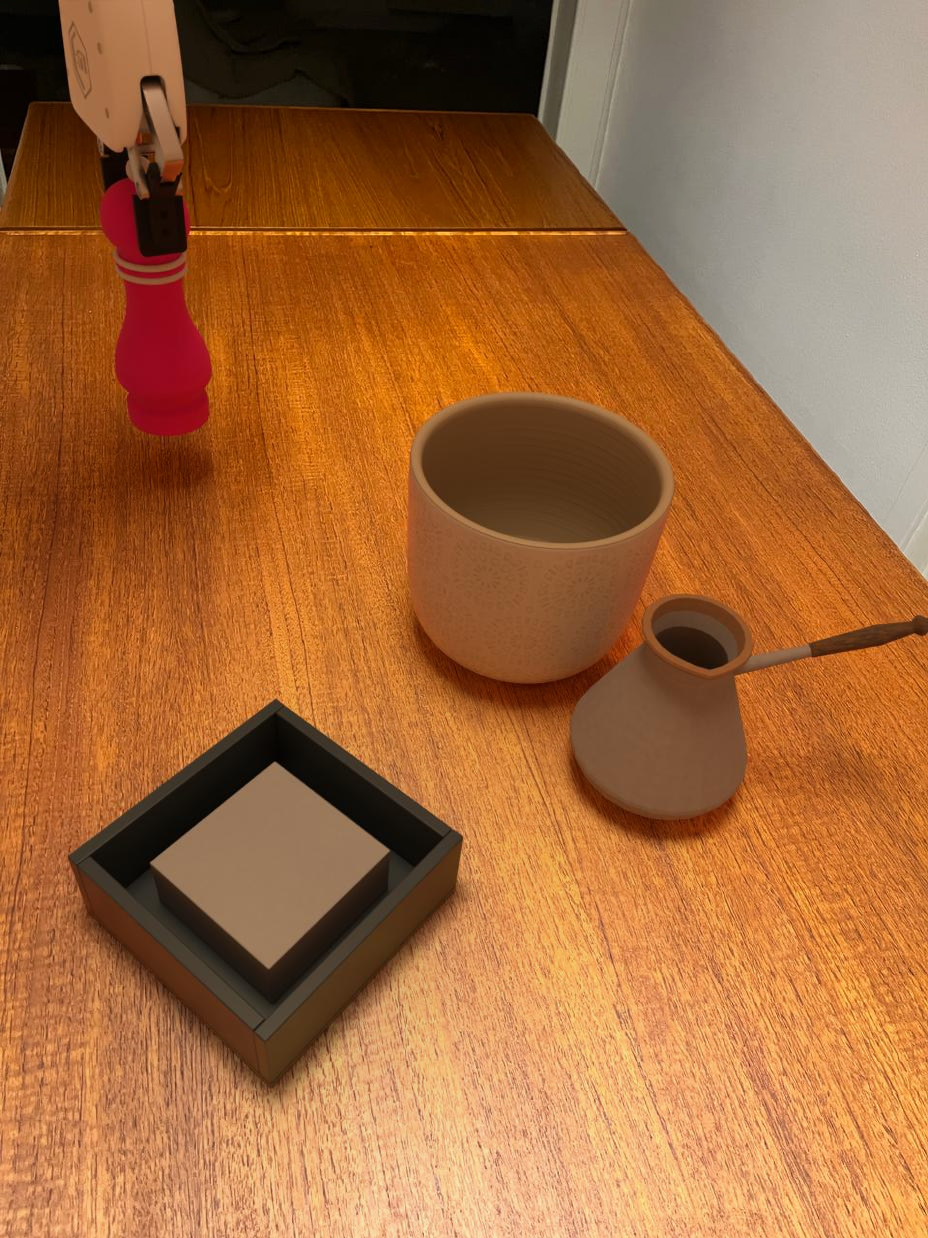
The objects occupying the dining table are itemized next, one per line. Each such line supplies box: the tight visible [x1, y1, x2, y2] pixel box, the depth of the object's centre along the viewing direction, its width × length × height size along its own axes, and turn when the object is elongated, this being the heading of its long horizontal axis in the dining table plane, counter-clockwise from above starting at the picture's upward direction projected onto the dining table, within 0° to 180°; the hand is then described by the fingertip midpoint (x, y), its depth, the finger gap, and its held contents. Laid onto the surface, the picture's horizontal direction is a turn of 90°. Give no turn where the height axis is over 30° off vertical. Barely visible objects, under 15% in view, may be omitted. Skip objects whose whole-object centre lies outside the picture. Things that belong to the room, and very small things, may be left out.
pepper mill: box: [99, 157, 213, 437], centre depth 72 cm, size 7×7×20 cm
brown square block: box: [150, 762, 390, 1004], centre depth 53 cm, size 9×9×4 cm
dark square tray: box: [67, 698, 464, 1089], centre depth 53 cm, size 15×15×6 cm
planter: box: [406, 391, 676, 684], centre depth 67 cm, size 17×17×15 cm
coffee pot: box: [569, 592, 928, 821], centre depth 60 cm, size 21×12×15 cm, turn 92°
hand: (147, 230), depth 68 cm, fingers closed on pepper mill, 6 cm apart
